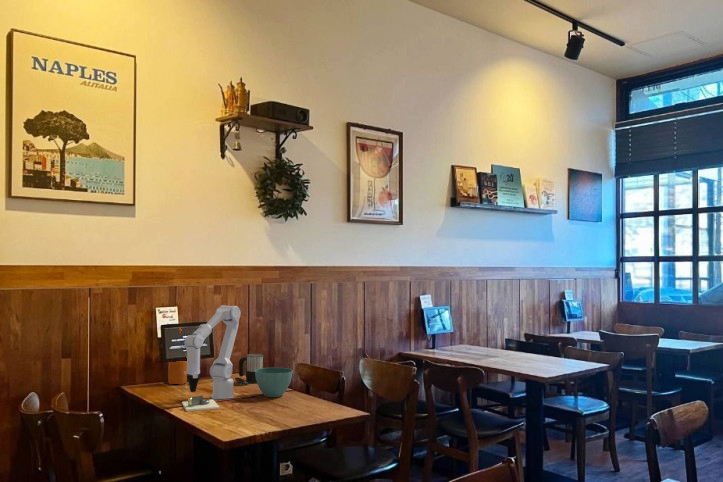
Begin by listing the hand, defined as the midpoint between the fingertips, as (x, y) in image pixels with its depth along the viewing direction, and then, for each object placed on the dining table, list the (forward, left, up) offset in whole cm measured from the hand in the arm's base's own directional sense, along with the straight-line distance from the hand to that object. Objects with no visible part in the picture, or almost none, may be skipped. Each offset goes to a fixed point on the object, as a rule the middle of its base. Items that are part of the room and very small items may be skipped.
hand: (193, 391), depth 272 cm
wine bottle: (+1, -55, -6) cm, 55 cm away
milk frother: (-35, -43, -6) cm, 56 cm away
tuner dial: (-2, +6, -4) cm, 7 cm away
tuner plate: (-3, +5, -6) cm, 8 cm away
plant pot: (-39, -6, -6) cm, 40 cm away
